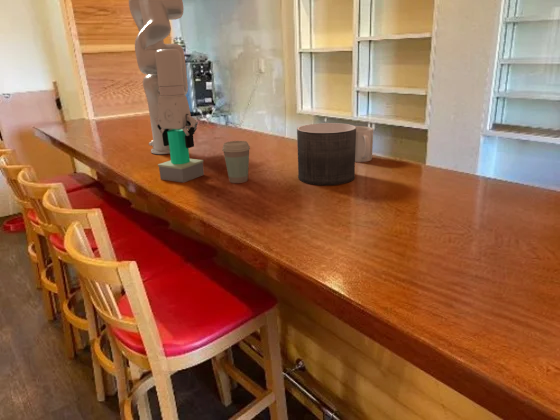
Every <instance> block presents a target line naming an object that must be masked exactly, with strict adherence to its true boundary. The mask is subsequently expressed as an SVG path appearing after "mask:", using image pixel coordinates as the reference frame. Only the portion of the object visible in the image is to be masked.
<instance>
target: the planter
mask: <svg viewBox="0 0 560 420" xmlns="http://www.w3.org/2000/svg"><path fill="white" fill-rule="evenodd" d="M356 127H357V126H356V125H353V124H348V123H341V122H340V123H338V122H337V123H336V122H325V123H324V122H322V123H321V122H320V123H308V124H304V125H300V126H298V127H297V128H296V133H297V134H296V135H297V136H296V141H297V143H296V145H297V170H298V171H297V173H298V175H297V178H298V180H299V181H301V182H303V183H304V184H308V185H315V186H336V185H343V184H347V183H350V182H352V181H354V179H355V178H356V177H355V176H356V174H355V172H356V170H355V169H356V162H355V148H356Z"/></svg>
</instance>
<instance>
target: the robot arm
mask: <svg viewBox="0 0 560 420" xmlns="http://www.w3.org/2000/svg"><path fill="white" fill-rule="evenodd" d="M128 7H129V11H130V14H131V17H132V19H133V21H134V23H135V25H136V28H137V29H138V33H137V35H136V37H135V41H134V53H135V57H136V58H135V59H136V64H137V66H138V69H139V71H140V72H141V73H142V74H143V75H145V76H144V77H143V79H142V88H143V91H144V94H145V98H146V103H147V107H148V113H149V118H150V119H149V120H150V128H151V132H152V133H151V134H152V140H150V141H149V142H148V145H149V146H152V148H151V149H150V153H151V154H153V155H167V154H169V155H170V149H169V141H168V133H167V132H168V130H172V129H174V130H181V129H182V130H183V131H184V132H185V134H186V136H185V143H186V148H188V149H190V148H194V147H195V141H194V135H195V132H196V131H197V129H198V124H199V121H198V120H197V119H195V117H192V116H191V115H192V114H191V110H190V105H189V100H188V98H187V94H188V90H189V89H188V88H189V85H188V76H187V65H186V57H185V52H184V49H183V47H182V46H181V45H180V44H178V43H165V42H164V40H165V39H166V38H168V37H169V35H170V33H171V30H172V26H171V22H170V21H175V20H179V19H182V17H183V15H184V9H185V8H184V3H183V0H128Z"/></svg>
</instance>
